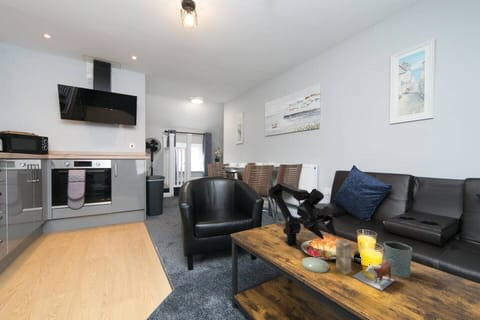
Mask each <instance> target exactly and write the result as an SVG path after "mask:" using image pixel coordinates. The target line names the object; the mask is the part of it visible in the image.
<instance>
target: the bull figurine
mask: <svg viewBox="0 0 480 320" xmlns="http://www.w3.org/2000/svg"><path fill="white" fill-rule="evenodd" d="M365 271H366V273H369V274H371V275H372V276H373V278H374V281H373V283H375V284H377V283H378V285H377V286H378V287H379V286H381V287H382V281H383V277H386V276H388V279H387V281H388V282H392V278H391V277H392V274H391V273H390V272H391V266H390V264H388V262H386V261H385V262H384V261H383V262H381V264H380V263H379V264H375V265H373V264H371V265H370V264H369V266H368V267H367V268H366V269H365Z"/></svg>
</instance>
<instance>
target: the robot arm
mask: <svg viewBox="0 0 480 320" xmlns="http://www.w3.org/2000/svg"><path fill="white" fill-rule="evenodd" d="M283 192H285V193H287V194H289V195H291V196H292V197H293V199H295V200H296V201H297V202H300V204H299V208H303V209H304V211H306V213H307V214H306V217H309V218H307V219H306V220H305V221H304V222H303V224H302V225H303V228H304V230H307V231H309V232H310V233H312V234H314V235H315V236H317V237H318V238H320V239H321V240H324V238H325V237H324V235H323V233H322V231H321V230H320V228H319V225H318V224H323V225H324V227H325V228H326V229H327V230H328V231H329V232H330V233H331V234H332V235H333V236H335V237H336V236H337V233H336V228H335V225H334V222H335V220H336V217H335V216H334V214H332V209H331V208H330V206H328V205H326V206H324V207H323V208H319V207H318V208H317V205H319V203H321V202H322V200H323V199H324V198H325V195H324V193H323V192H321V191H320V190H318V189H317V188H313V189H312V190H311V191H310V192H309V191H307V190H306V189H301V188H296V187H294V186H291V185H289V184H287V183H285V182H279V183H277V184H276V185H274V186H271V187H270V188H269V189H268V196H270V198H271V199H272V200H274V201H275V202H276V205H277V206H278V209H279V211H280V213H281V214H282V216H283V219H284V222H285V223H284V226H285V227H284V228H283V230H282V231H283V234H285V235H286V240H284V243H285V244H286V245H287V246H288V247H292V246H298V245H300V244H299V243H298V242H297V239H298V238H297V234H300V232H301V228H302V225H301V222H300V220H299V218H298V217H297V216H296V217H294V216H293V214H292V213H291V211H290V209H289V207H288V205H287V204H286V202H285V200H284V198H283Z"/></svg>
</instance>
